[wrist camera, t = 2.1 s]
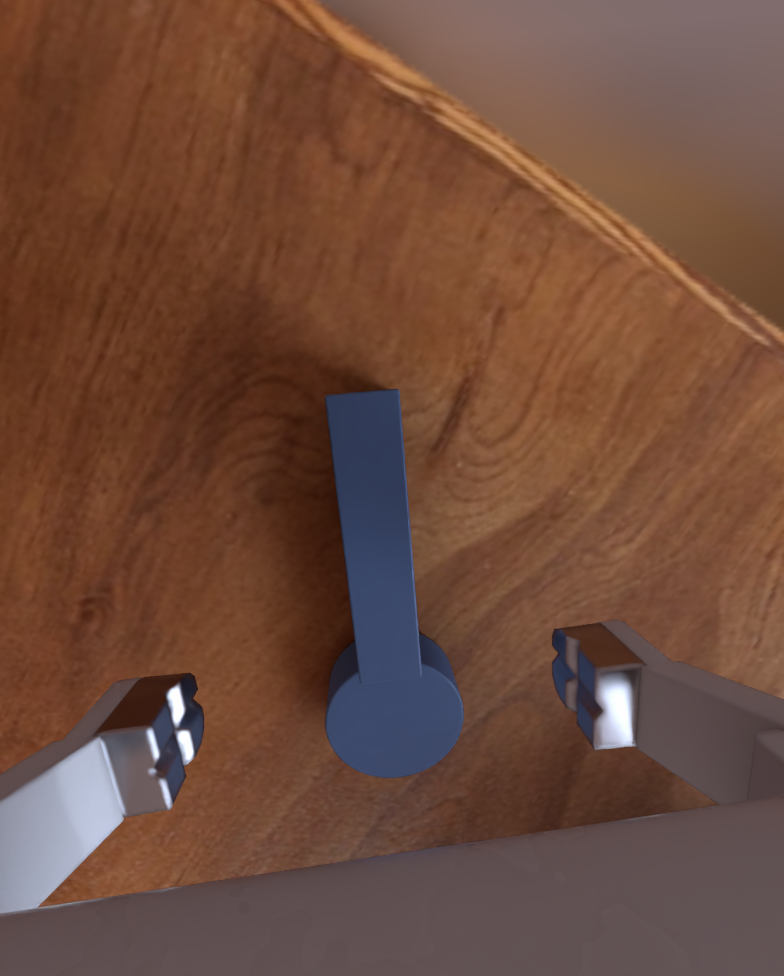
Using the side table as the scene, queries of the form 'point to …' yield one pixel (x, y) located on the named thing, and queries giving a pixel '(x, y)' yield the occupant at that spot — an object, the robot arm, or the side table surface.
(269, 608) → the side table surface
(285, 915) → the robot arm
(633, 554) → the side table surface
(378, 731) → the blue rounded-end bar
